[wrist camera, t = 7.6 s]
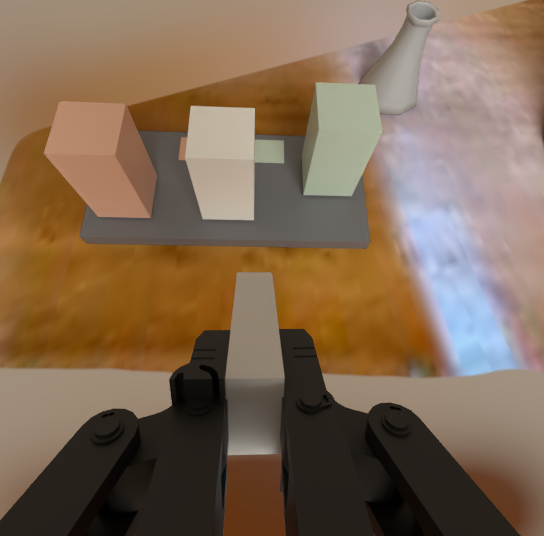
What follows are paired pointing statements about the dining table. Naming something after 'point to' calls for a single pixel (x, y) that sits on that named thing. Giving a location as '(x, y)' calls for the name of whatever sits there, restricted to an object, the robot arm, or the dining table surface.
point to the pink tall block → (103, 158)
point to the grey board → (256, 233)
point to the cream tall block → (222, 161)
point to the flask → (402, 61)
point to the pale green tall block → (339, 137)
